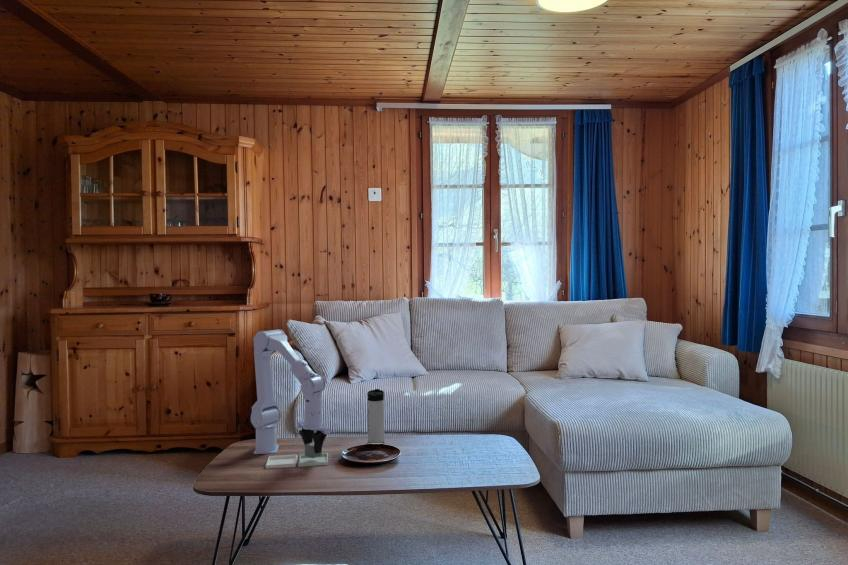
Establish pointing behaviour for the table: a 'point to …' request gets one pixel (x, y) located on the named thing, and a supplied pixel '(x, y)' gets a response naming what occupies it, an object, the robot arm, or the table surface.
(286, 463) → the tray
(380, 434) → the travel mug
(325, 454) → the tray
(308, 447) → the letter cube
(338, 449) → the table surface
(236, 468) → the table surface
